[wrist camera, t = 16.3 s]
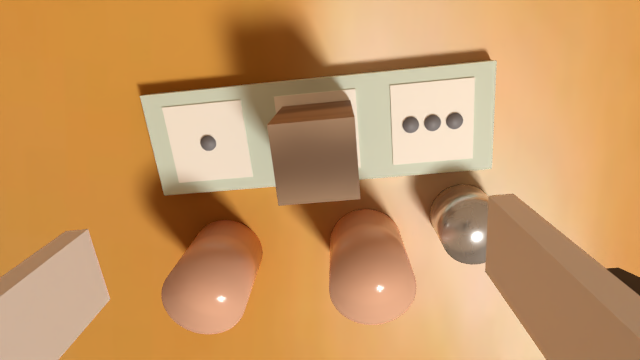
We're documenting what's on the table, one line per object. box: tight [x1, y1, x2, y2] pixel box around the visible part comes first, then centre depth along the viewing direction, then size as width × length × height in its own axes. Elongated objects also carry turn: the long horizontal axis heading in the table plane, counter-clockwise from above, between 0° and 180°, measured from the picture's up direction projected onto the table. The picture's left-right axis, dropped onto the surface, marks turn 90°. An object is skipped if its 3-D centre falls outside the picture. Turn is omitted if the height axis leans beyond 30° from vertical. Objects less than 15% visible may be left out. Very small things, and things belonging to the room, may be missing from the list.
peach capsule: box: [162, 220, 262, 334], centre depth 31 cm, size 6×6×7 cm
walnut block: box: [267, 100, 360, 206], centre depth 26 cm, size 5×5×7 cm
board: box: [140, 60, 497, 196], centre depth 30 cm, size 26×8×1 cm, turn 96°
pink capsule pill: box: [329, 209, 416, 325], centre depth 31 cm, size 6×6×7 cm
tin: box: [430, 184, 488, 264], centre depth 31 cm, size 5×5×4 cm
